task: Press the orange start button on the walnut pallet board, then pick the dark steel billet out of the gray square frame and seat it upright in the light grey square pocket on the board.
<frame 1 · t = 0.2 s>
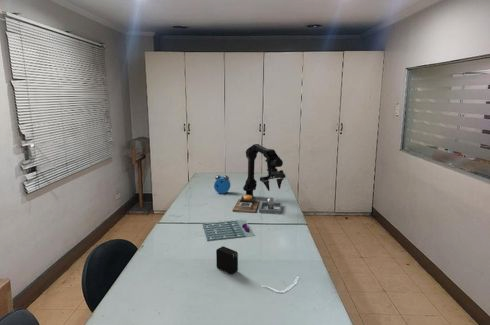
hand: (274, 189, 230), 15 cm above the table, tool pointing down, fingers open, 9 cm apart
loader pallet: (246, 206, 242), on the table
start button: (247, 197, 247), point 4 cm above the table, slide at 0.0 cm
alarm clock: (222, 193, 274), on the table
calendar: (227, 230, 202), on the table
steel billet: (270, 203, 235), in the gray square frame
gray square frame: (270, 209, 236), on the table
electronic device: (227, 270, 156), on the table
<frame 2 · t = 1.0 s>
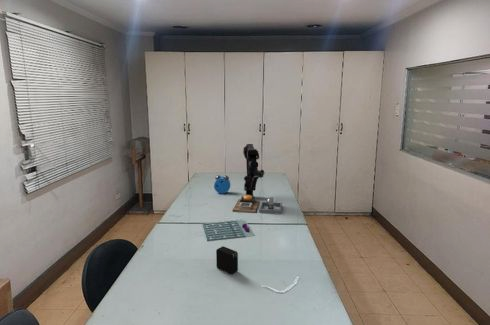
hand: (252, 187, 240), 14 cm above the table, tool pointing down, fingers open, 9 cm apart
nothing on the table moved.
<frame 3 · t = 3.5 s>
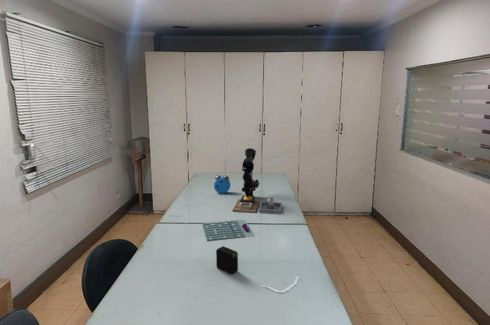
hand: (247, 197, 247), 5 cm above the table, tool pointing down, fingers closed, pressing on start button
start button: (247, 199, 247), point 3 cm above the table, slide at 1.0 cm, touching gripper
everything else where it was.
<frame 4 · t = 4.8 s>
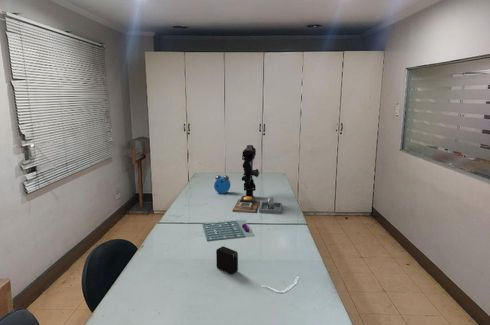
hand: (247, 187, 245), 13 cm above the table, tool pointing down, fingers closed
start button: (247, 199, 247), point 3 cm above the table, slide at 1.2 cm
everything else where it was.
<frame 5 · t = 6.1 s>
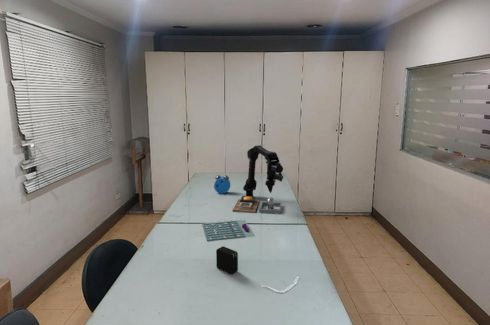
hand: (270, 191, 233), 13 cm above the table, tool pointing down, fingers open, 4 cm apart
nothing on the table moved.
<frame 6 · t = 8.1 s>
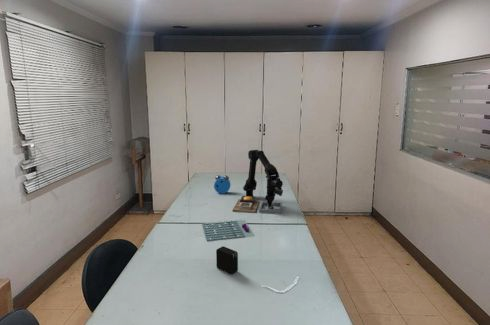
hand: (270, 205, 236), 3 cm above the table, tool pointing down, fingers closed on steel billet, 4 cm apart
steel billet: (270, 203, 235), in the gray square frame, touching gripper
everything else where it was.
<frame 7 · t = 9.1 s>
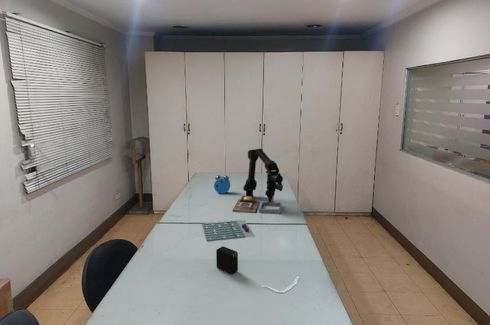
hand: (270, 201, 235), 6 cm above the table, tool pointing down, fingers closed on steel billet, 4 cm apart
steel billet: (270, 199, 234), point 7 cm above the table, touching gripper
everything else where it was.
when the fingers open (5 cm above the table, at t = 12.9 s): steel billet drops 1 cm, resting on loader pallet.
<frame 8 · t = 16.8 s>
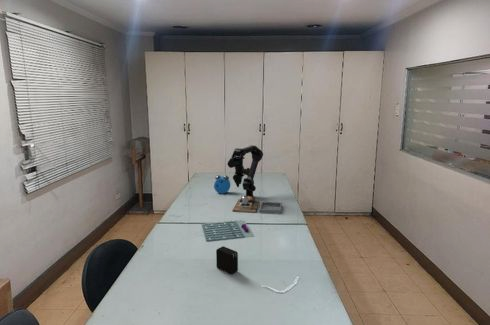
hand: (239, 185, 249), 13 cm above the table, tool pointing down, fingers open, 9 cm apart
steel billet: (245, 201, 236), point 5 cm above the table, touching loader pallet
everything else where it was.
at the end: steel billet 0.1 cm from the target spot on the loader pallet, point 5.2 cm above the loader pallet's base; steel billet tilted 1°; start button slide at 1.2 cm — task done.
